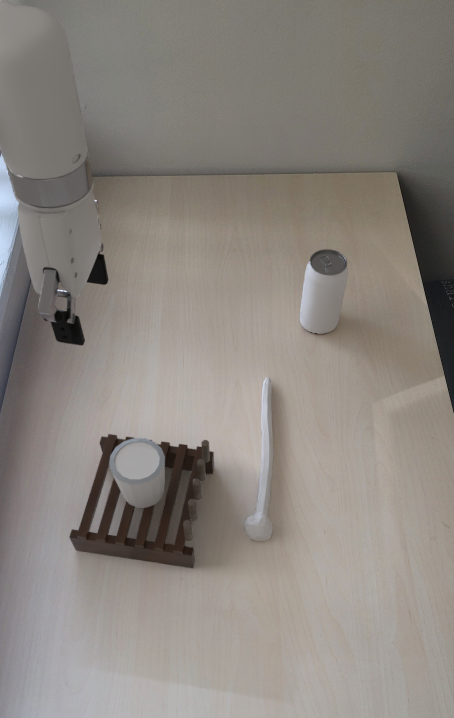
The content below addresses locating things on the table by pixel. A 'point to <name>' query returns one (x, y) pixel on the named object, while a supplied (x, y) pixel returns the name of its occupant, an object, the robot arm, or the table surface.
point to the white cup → (139, 471)
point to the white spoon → (263, 473)
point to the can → (323, 291)
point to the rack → (146, 509)
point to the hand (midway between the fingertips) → (83, 310)
